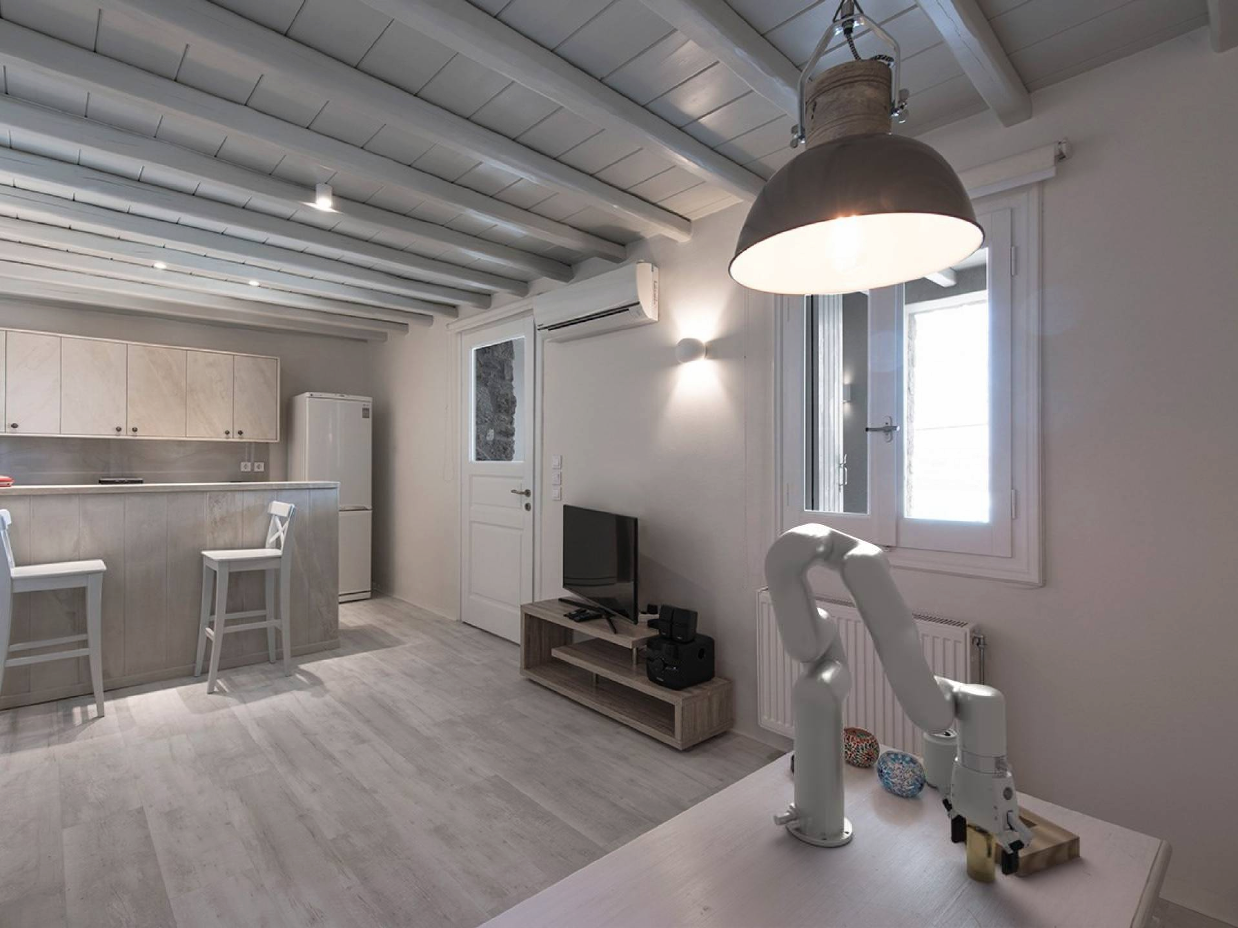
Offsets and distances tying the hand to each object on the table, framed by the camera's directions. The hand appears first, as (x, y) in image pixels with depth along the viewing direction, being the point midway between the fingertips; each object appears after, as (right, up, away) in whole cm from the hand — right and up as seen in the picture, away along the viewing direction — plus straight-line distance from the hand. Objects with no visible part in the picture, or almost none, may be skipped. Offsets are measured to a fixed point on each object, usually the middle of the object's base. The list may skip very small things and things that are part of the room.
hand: (983, 856), depth 109 cm
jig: (+11, -4, +9) cm, 15 cm away
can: (+9, -4, +32) cm, 34 cm away
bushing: (0, -3, 0) cm, 3 cm away
